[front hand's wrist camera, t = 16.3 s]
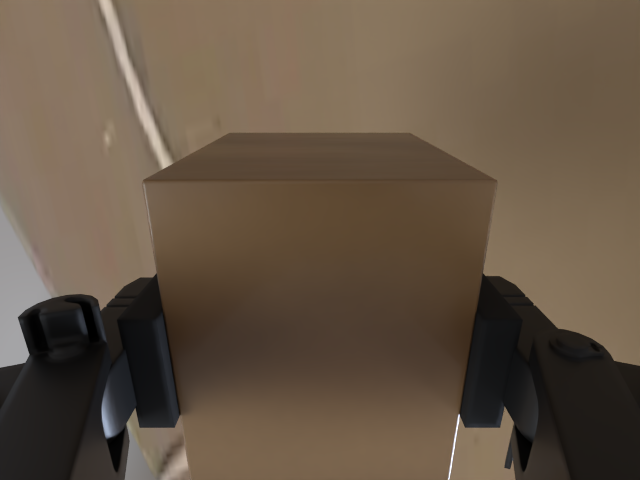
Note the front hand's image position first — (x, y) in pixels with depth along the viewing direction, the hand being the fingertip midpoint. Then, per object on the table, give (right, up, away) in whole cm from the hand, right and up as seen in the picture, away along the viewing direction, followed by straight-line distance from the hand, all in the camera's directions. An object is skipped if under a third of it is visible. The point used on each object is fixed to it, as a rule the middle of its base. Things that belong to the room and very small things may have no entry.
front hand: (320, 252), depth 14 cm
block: (0, 0, +1) cm, 1 cm away
